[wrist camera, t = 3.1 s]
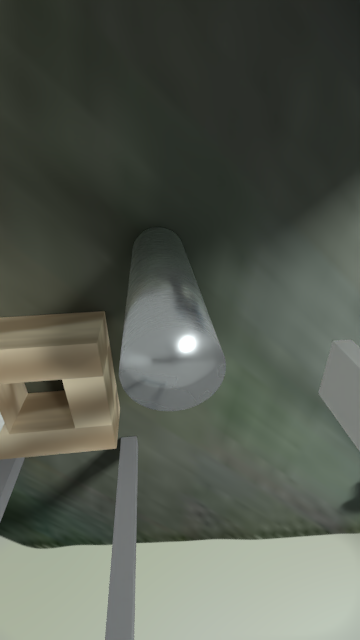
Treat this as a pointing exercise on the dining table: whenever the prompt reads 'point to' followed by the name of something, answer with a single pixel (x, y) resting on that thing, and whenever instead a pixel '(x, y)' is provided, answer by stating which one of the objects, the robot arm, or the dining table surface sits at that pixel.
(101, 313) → the socket block
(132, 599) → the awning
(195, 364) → the peg
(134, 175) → the dining table surface
